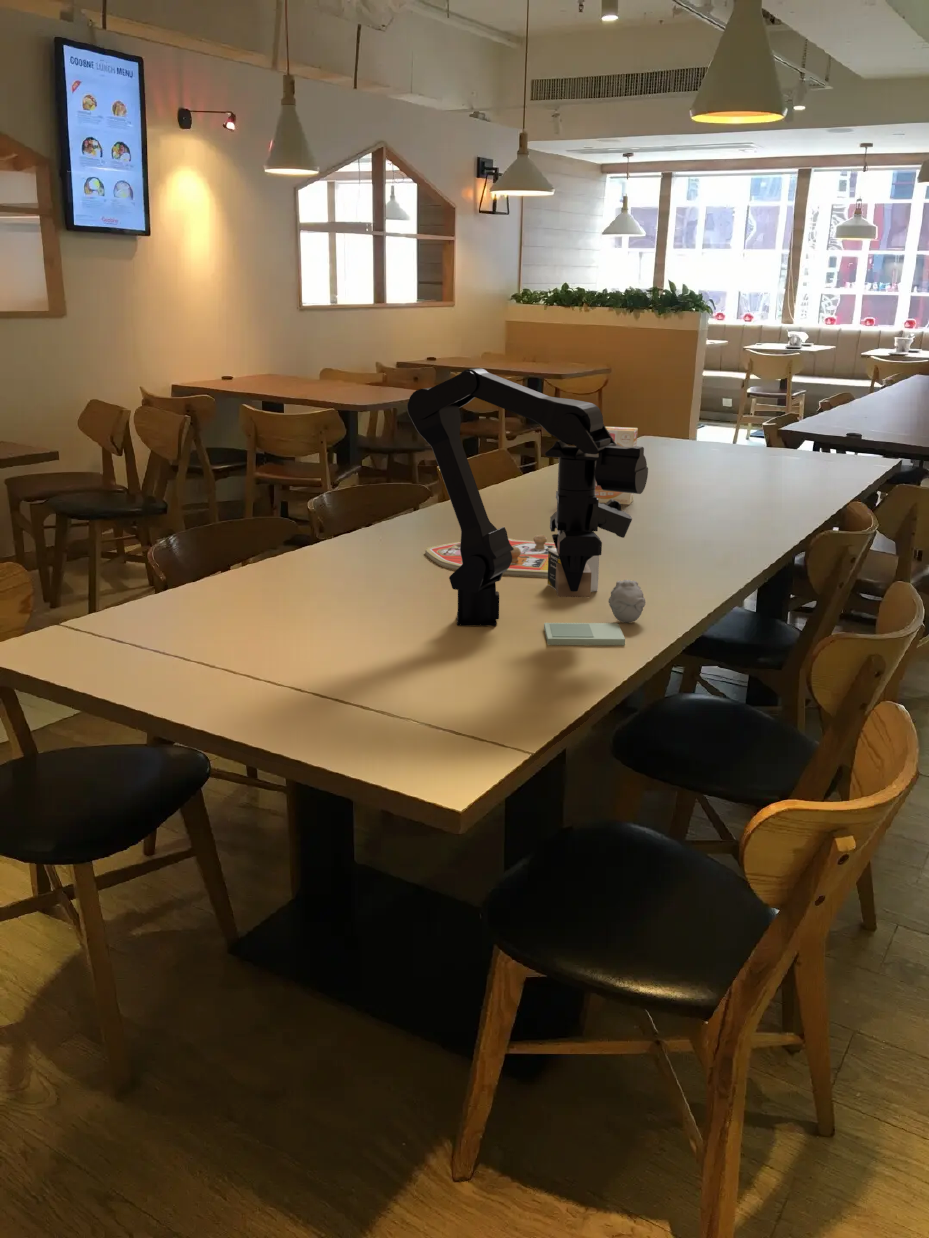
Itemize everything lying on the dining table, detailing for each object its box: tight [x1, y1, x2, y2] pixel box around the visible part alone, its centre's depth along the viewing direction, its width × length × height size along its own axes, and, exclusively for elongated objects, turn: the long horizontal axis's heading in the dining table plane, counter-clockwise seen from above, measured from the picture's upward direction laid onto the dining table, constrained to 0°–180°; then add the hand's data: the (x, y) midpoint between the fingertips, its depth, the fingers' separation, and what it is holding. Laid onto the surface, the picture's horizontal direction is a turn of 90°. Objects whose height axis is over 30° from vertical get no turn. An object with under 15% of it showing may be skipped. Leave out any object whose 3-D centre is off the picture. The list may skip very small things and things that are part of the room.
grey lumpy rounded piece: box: [608, 579, 646, 624], centre depth 164 cm, size 6×7×7 cm
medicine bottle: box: [547, 548, 600, 593], centre depth 182 cm, size 7×7×12 cm
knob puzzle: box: [424, 534, 556, 579], centre depth 205 cm, size 29×30×4 cm
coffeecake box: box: [595, 426, 639, 506], centre depth 262 cm, size 15×7×20 cm, turn 73°
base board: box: [543, 622, 626, 646], centre depth 157 cm, size 12×8×1 cm, turn 90°
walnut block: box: [554, 564, 592, 598], centre depth 155 cm, size 5×5×4 cm
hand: (572, 586), depth 155 cm, fingers closed on walnut block, 5 cm apart
